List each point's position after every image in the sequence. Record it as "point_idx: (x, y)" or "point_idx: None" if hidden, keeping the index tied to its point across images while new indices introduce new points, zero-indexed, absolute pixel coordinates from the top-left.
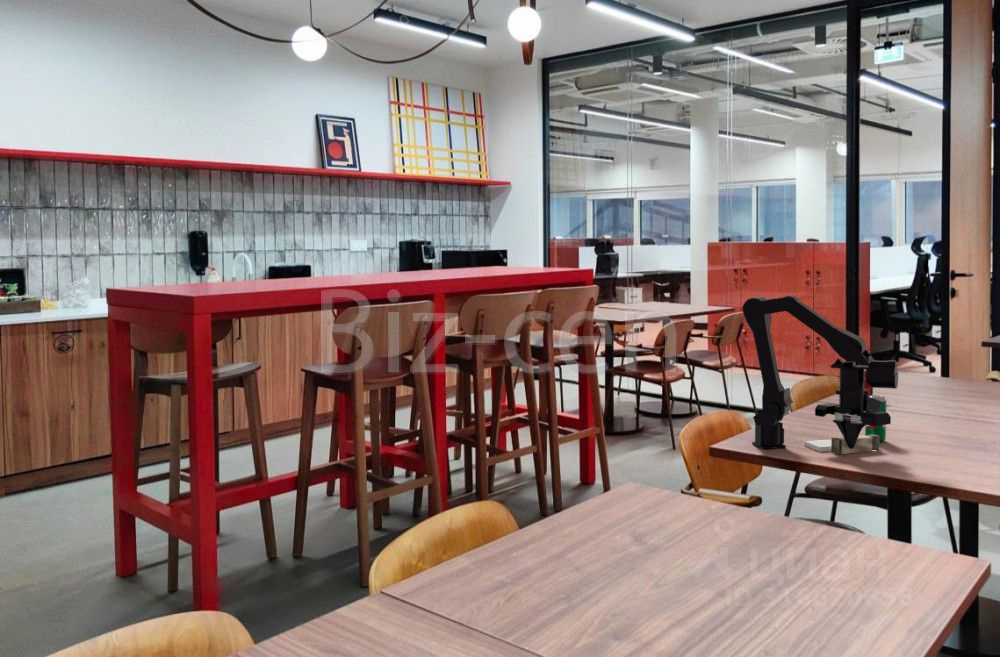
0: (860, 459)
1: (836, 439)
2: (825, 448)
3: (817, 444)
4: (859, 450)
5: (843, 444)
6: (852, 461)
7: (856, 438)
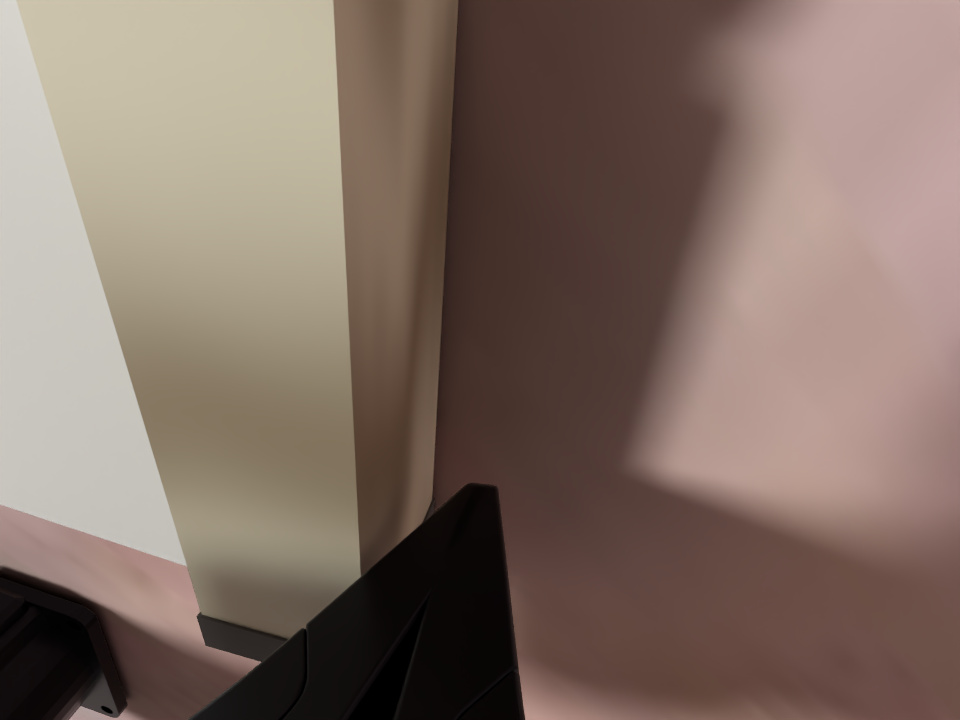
0: (712, 507)
1: None
2: None
3: (117, 513)
4: (435, 262)
5: None
6: (712, 620)
7: (514, 640)
